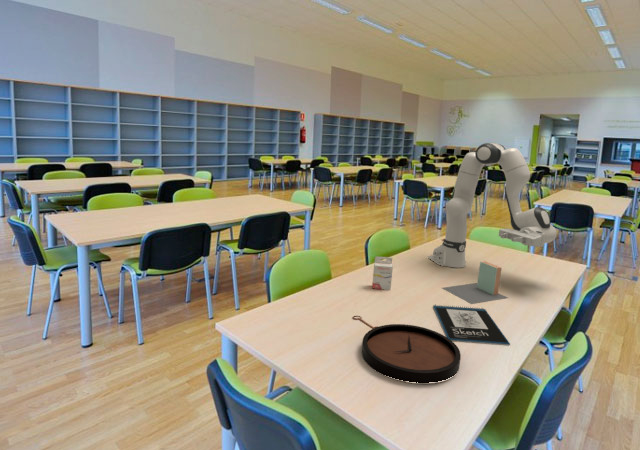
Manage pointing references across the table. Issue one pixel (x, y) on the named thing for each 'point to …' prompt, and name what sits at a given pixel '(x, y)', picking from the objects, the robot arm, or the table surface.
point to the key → (363, 321)
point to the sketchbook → (469, 325)
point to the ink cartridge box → (382, 273)
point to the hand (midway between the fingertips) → (507, 237)
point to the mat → (472, 293)
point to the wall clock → (410, 353)
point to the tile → (489, 278)
